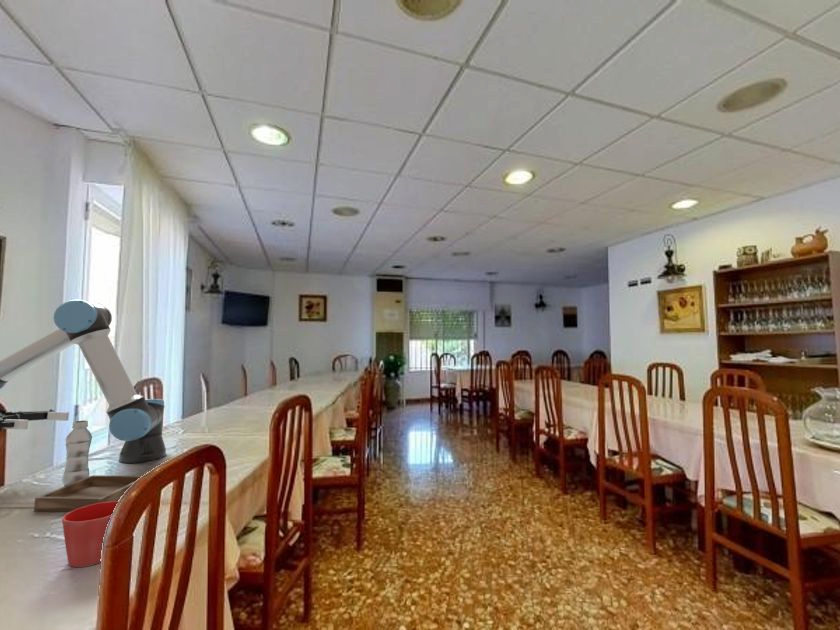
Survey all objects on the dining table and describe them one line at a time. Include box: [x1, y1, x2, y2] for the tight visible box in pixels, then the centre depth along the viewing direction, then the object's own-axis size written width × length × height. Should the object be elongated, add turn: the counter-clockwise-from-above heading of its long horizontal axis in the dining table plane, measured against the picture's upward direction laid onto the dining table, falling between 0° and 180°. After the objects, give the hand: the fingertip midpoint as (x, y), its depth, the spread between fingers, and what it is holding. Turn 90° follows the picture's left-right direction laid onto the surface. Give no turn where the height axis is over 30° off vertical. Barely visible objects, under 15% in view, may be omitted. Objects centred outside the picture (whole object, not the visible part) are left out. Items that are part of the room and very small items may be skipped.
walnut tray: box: [33, 474, 142, 513], centre depth 111 cm, size 18×18×4 cm
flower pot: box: [61, 501, 118, 568], centre depth 81 cm, size 11×11×10 cm
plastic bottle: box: [61, 420, 93, 487], centre depth 122 cm, size 6×7×20 cm
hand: (48, 420), depth 122 cm, fingers open, 13 cm apart
